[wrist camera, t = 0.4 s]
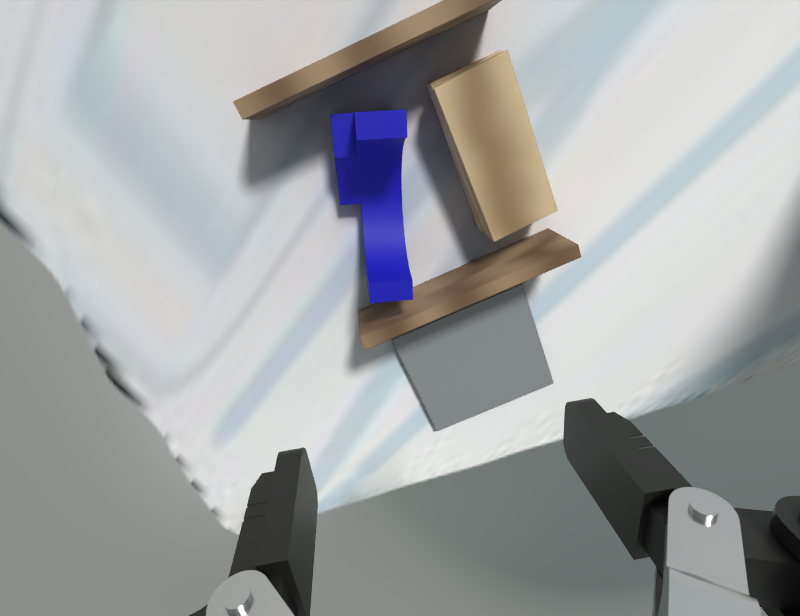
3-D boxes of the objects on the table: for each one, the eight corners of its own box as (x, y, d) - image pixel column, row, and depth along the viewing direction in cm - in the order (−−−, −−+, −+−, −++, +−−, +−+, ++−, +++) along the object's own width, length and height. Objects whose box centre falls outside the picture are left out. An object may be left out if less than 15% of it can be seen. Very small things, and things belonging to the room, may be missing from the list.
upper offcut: (497, 54, 28) (507, 49, 26) (545, 205, 33) (557, 210, 31) (428, 90, 28) (434, 88, 27) (486, 235, 33) (494, 241, 31)
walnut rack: (484, -8, 28) (510, -32, 23) (551, 239, 35) (581, 257, 31) (251, 104, 29) (233, 101, 24) (363, 320, 36) (365, 349, 32)
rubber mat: (519, 282, 36) (522, 284, 36) (550, 379, 41) (553, 383, 40) (391, 337, 37) (391, 340, 37) (435, 426, 42) (436, 431, 41)
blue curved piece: (332, 114, 30) (328, 113, 24) (395, 111, 30) (406, 109, 25) (348, 276, 35) (348, 305, 29) (402, 271, 35) (412, 299, 30)
